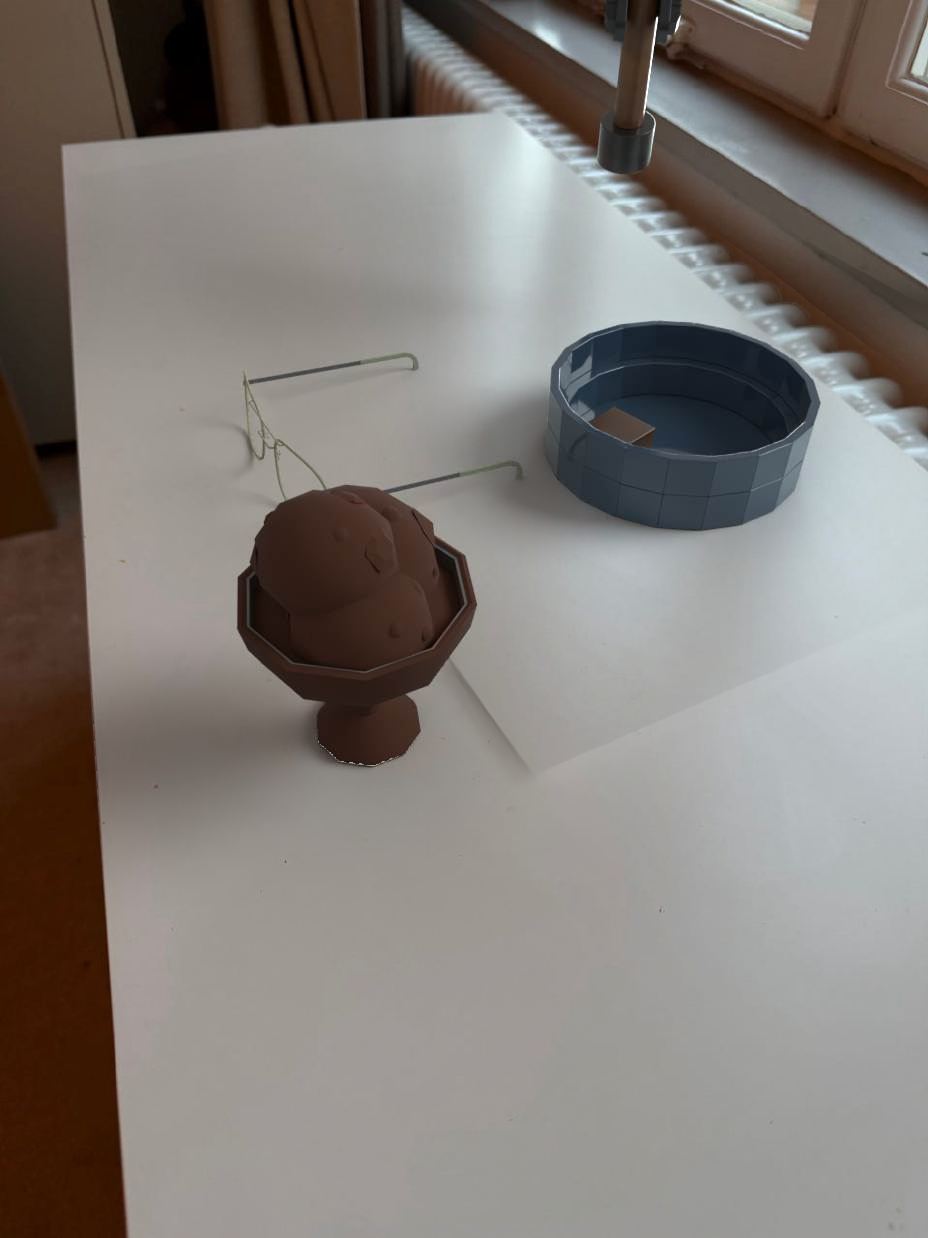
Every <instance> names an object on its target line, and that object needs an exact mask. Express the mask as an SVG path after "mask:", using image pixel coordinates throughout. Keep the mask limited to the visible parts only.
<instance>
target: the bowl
mask: <svg viewBox="0 0 928 1238" xmlns="http://www.w3.org/2000/svg"><path fill="white" fill-rule="evenodd" d="M549 379H550V381H549V393H548V405H547V420H546V432H545V433H546V434H545V435H546V436H545V451H544V454H545V457H546V459H547V461H548V463H549V465H550V467H551V469H552V472H553V473H554V476H555V477H556V478H557V479H558V480H559V481H560V482H561V483H562V484H563V485H564V486H566V487H567V488H568V489H569V490H570V491H571V492H572V493H573V494H574V495H575V496H577V498H579V499H580V500H581V501H583V502H585V503H587V504H589V505H591V506H593V507H594V508H596V509H599V510H601V511H603V512H605V513H607V514H609V515H610V516H612V517H615V518H619V519H623V520H627V521H630V522H631V521H632V522H634V523H639V524H642V525H647V526H651V527H655V528H659V529H660V528H661V529H675V530H676V529H677V530H693V531H705V530H711V529H717V528H725V527H731V526H739V525H744V524H746V523H749V522H751V521H753V520H756V519H758V518H760V517H762V516H765V515H768V514H770V513H772V512H774V511H775V510H776V509H777V508H778V507H779V506H780V505H781V504H782V503H784V502H785V501H786V500H787V499H788V498H789V497H790V496H791V495H792V494H793V493H794V492H795V491H796V488H797V484H798V481H799V478H800V475H801V472H802V468H803V465H804V462H805V458H806V454H807V451H808V448H809V445H810V441H811V438H812V435H813V431H814V427H815V424H816V421H817V416H818V413H819V411H820V407H821V404H822V403H821V399H820V396H819V393H818V389H817V387H816V383H815V380H814V379H813V378H812V377H811V375H809V374H808V372H807V371H806V370H805V369H804V367H802V366H801V365H800V364H799V362H798V361H796V360H795V358H792V357H791V356H789V355H788V354H786V353H784V352H783V351H781V350H780V349H778V348H776V347H775V346H773V345H772V344H770V343H769V342H766V341H764V340H761V339H758V338H756V337H753V336H751V335H747V334H745V333H742V332H739V331H737V330H734V329H729V328H725V327H719V326H715V325H709V324H705V323H699V322H693V321H674V320H647V321H636V322H627V323H619V324H616V325H613V326H609V327H605V328H603V329H602V328H601V329H600V330H599V329H598V330H596V331H592V332H589V333H587V334H586V335H584V336H583V337H581V338H579V339H577V340H576V341H574V342H573V343H571V344H569V345H568V346H566V347H565V348H564V349H563V350H562V351H561V353H560V354H559V355H558V357H557V359H556V360H555V361H554V362H553V364H552V366H551V368H550V378H549ZM613 407H615V408H617V409H619V410H621V411H623V412H625V413H627V414H629V415H631V416H633V417H635V418H637V419H639V420H641V421H642V422H644V423H646V424H648V425H650V426H652V427H654V428H655V434H654V440H653V446H652V449H648V448H644V447H640V446H636V445H632V444H628V443H626V442H624V441H621V440H619V439H617V438H615V437H613V436H610V435H608V434H606V433H604V432H602V431H600V430H597V429H595V428H594V427H592V426H591V425H590V424H589V423H588V422H589V421H590V420H592V419H594V418H596V417H597V416H599V415H601V414H603V413H604V412H606V411H608V410H610V409H611V408H613Z"/></svg>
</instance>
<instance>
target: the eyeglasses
mask: <svg viewBox="0 0 928 1238" xmlns="http://www.w3.org/2000/svg"><path fill="white" fill-rule="evenodd" d="M403 358H408V359H411V360H412V370H413V371H417V370H419V369H420V365H419V360H418V358H417V357H416V356H415V354H414V353H412V352H408V351H403V352H398V353H392V354H386V355H381V356H373V357H369V358H362V359H359V360H356V361H351V362H344V363H337V364H332V365H327V366H322V367H316V368H309V369H305V370H304V369H303V370H297V371H292V372H288V373H287V372H286V373H282V374H276V375H270V376H265V377H258V378H252V379H249V378H248V375H247V371H245V370H244V371H243V372H242V373H243V382H242V384H243V387H244V398H245V399H244V400H245V409H246V410H245V411H246V422H247V434H248V439H249V443H250V446H251V450H252V452H253V454H254V456H255V457H256V458H257V459H258V460H259V461H262V460H265V457H266V447H267V449H269V450H273V455H274V463H275V471H276V477H277V482H278V485H279V489H280V491H281V494H282V497H283V498H284V501H286V500H289V499H288V497H287V494H286V492H285V489H284V486H283V483H282V477H281V473H280V465H279V460H280V457H279V456H282V455H281V454H282V453H281V450H278V447H285V448H286V449H287V450H289V452H291V454H293V455H294V456H295V457H296V458H298V459H299V460H300V461H301V462H302V463H303V464H304V465H305V466H306V467H307V468H308V469H309V470H310V471H311V472H312V473H313V474H314V475H315V477H316V478H317V480H318V481H319V482H320V484H321V486H322V488H323V490H326V489H328V486H327V484H326V482H325V481H324V479H323V478H322V477H321V475H320V474H319V473H318V472H317V469H315V468H314V467H313V466H312V465H311V464H310V463H309V462H308V461H307V460H305V459H304V457H302V456H301V455H300V454H299V453H298V452H297V451H296V450H295V449H294V448H292V447H291V446H290V445H289V444H287V442H285V441H284V440H283V439H280V438H277V439H276V437H275V435H274V434H273V433H272V431H271V429H270V428H269V427H268V426H267V424H266V423H265V421H264V419H263V415H262V412H261V409H260V407H259V405H258V403H257V399H256V397H255V395H254V393H253V390H252V388H251V385H254V384H259V383H266V382H271V381H277V380H282V379H288V378H294V377H299V376H304V375H310V374H316V373H322V372H328V371H333V370H339V369H345V368H351V367H357V366H363V365H369V364H375V363H379V362H386V361H392V360H398V359H403ZM248 392H249V395H248ZM249 396H250V398H251V400H249ZM252 403H253V404H254V405H253V404H252ZM249 405H250V406H249ZM250 407H251V408H252V410H253V412H254V413H255V414H256V416H257V417H258V419H259V422H260V427H261V429H259V430H257V434H258V435H259V437H260V438H261V439H262V449H261V456H260V455H259V454H258V452H257V450H256V448H255V445H254V442H253V437H252V429H251V418H250ZM266 431H267V432H268V433H267V432H266ZM266 434H267V435H266ZM269 435H270V436H271V437H272V439H273V441H274V444H273V446H270V445H269V443H268V442H267V441H266V440H267V439H268V440H270V437H269ZM266 437H267V439H266ZM506 467H514V468H515V469H516V473H515V479H516V480H519V479H523V476H524V475H523V474H524V471H523V468H522V465H521V464H520V463H519V462H518V461H517V460H513V459H509V460H508V459H507V460H504V461H503V460H502V461H499V462H495V463H491V464H487V465H483V466H478V467H477V466H476V467H473V468H469V469H464V470H460V471H458V472H455V473H451V474H447V475H443V476H438V477H434V478H429V479H425V480H421V481H417V482H411V483H408V484H404V485H400V486H399V485H398V486H395V487H391V488H386V489H383V490H382V489H381V490H382V491H385V492H387V493H388V494H393V493H398V492H403V491H406V490H411V489H414V488H418V487H423V486H428V485H431V484H436V483H439V482H440V483H441V482H445V481H448V480H453V479H457V478H462V477H463V478H464V477H467V476H472V475H475V474H476V475H477V474H480V473H484V472H489V471H493V470H496V469H501V468H506Z"/></svg>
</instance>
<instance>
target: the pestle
mask: <svg viewBox="0 0 928 1238" xmlns="http://www.w3.org/2000/svg"><path fill="white" fill-rule="evenodd" d="M659 3H660V0H628V4H627V15H626V25H625V33H624V40H623V42H621V46H620V47H621V48H620V55H619V56H620V58H619V67H618V74H617V75H618V76H617V83H616V84H617V85H616V94H615V100H614V101H615V102H614V108H612V109H610V110H607V112H605V113H604V114H603V115H602V117H601V120H600V126H599V134H598V135H599V136H598V137H599V138H598V144H597V145H598V146H597V156H596V159H597V163H598V165H599V166H600V167H601V168H602V169H603V170H605V171H608V172H610V173H613V174H617V175H633V174H637V173H640V172H642V171H644V170H645V169H646V168H647V167H648V166H649V165H650V162H651V157H652V149H653V142H654V136H655V130H656V119H655V117H654V116H653V115H652V114H651V113H649V112H648V111H646V105H647V98H648V91H649V83H650V76H651V69H652V61H653V55H654V47H655V40H656V29H657V18H658V10H659Z"/></svg>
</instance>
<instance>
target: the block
mask: <svg viewBox="0 0 928 1238" xmlns="http://www.w3.org/2000/svg"><path fill="white" fill-rule="evenodd" d="M588 423H589V424H590V425H591V426H592V427H594V428H595V429H597V430H600V431H602V432H604V433H606V434H608V435H610V436H613V437H615V438H617V439H619V440H621V441H624V442H626V443H628V444H632V445H636V446H640V447H644V448H648V449H652V446H653V440H654V434H655V428H654V427H652V426H650V425H648V424H646V423H644V422H642V421H641V420H639V419H637V418H635V417H633V416H631V415H629V414H627V413H625V412H623V411H621V410H619V409H617V408H615V407H613V408H611V409H610V410H608V411H606V412H604V413H603V414H601V415H599V416H597V417H596V418H594V419H592V420H590V421H589V422H588Z"/></svg>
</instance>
